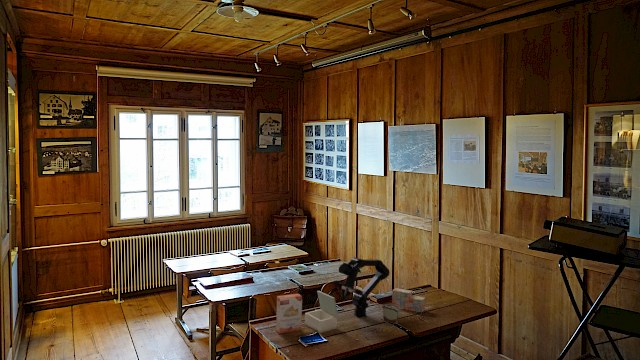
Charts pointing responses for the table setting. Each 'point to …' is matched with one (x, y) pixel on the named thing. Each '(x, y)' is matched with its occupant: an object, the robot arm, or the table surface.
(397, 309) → the food container
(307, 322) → the chest
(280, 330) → the cracker box
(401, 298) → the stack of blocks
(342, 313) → the table surface
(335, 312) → the chest lid
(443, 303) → the table surface
